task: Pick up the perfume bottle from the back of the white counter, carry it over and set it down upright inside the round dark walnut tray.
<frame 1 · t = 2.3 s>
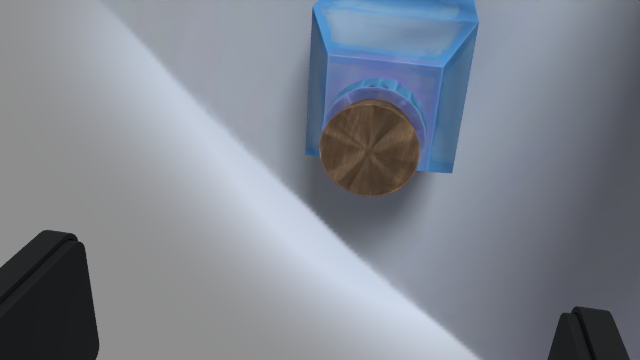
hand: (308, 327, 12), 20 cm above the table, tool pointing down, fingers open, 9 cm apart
perfume bottle: (396, 52, 29), on the table
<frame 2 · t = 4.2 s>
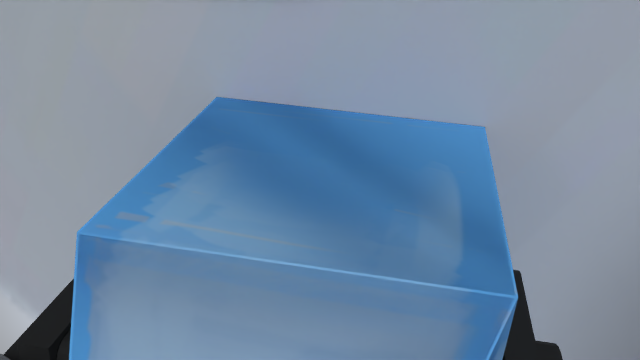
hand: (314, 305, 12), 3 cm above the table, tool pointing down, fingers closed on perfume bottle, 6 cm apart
perfume bottle: (338, 223, 15), on the table, touching gripper
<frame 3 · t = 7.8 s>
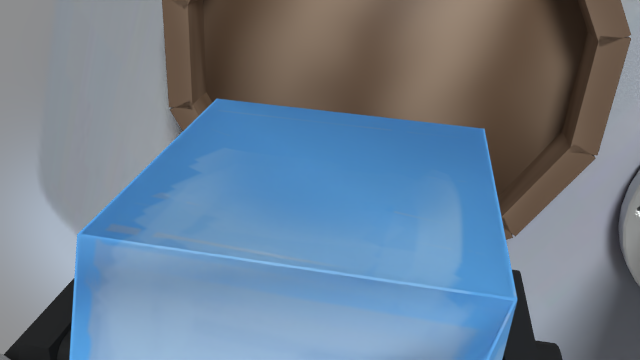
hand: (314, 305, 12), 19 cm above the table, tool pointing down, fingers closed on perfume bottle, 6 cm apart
perfume bottle: (338, 224, 15), point 16 cm above the table, touching gripper
walnut tray: (383, 58, 29), on the table
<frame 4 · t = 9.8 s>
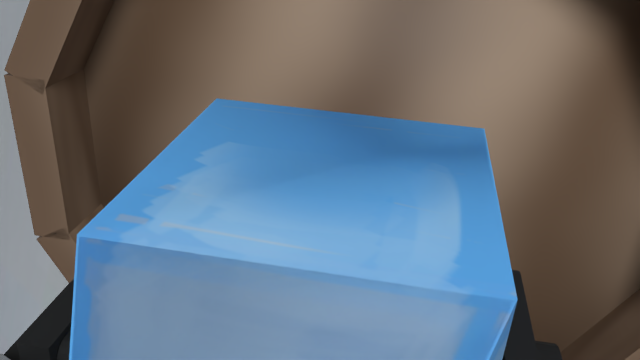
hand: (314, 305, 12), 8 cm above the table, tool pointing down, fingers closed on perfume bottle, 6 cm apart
perfume bottle: (338, 224, 15), point 4 cm above the table, touching gripper
walnut tray: (366, 160, 19), on the table
when the fingers open (5 cm above the table, at t = 11.3 s): perfume bottle stays where it is, resting on walnut tray.
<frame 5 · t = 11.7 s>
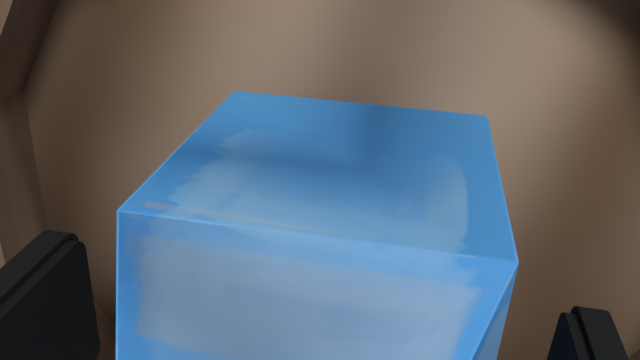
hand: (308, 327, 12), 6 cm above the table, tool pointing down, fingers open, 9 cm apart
perfume bottle: (349, 209, 16), point 1 cm above the table, touching walnut tray
walnut tray: (347, 192, 17), on the table
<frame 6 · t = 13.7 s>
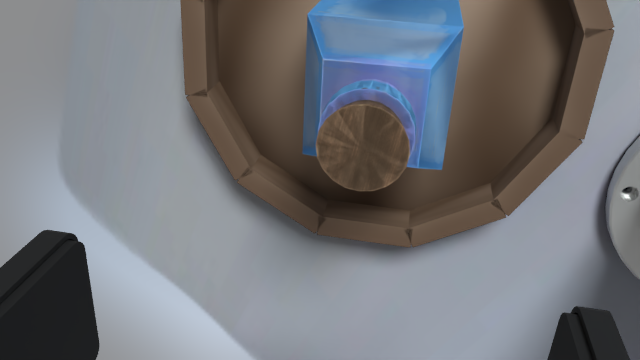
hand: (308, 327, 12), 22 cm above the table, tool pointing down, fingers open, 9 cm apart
perfume bottle: (388, 55, 31), point 1 cm above the table, touching walnut tray
walnut tray: (386, 49, 31), on the table
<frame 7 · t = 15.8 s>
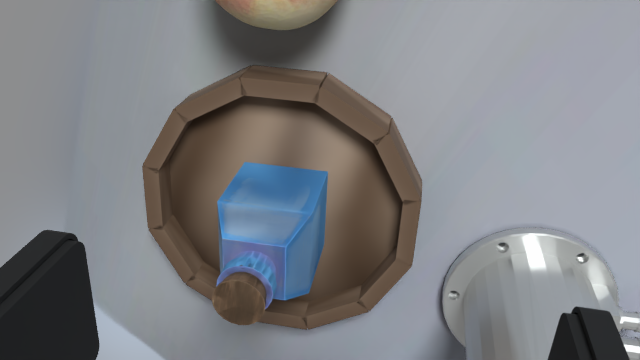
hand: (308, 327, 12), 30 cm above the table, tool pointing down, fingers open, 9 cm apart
perfume bottle: (285, 202, 45), point 1 cm above the table, touching walnut tray
walnut tray: (286, 196, 46), on the table
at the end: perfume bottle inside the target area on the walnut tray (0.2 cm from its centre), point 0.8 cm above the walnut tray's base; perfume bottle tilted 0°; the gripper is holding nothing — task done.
